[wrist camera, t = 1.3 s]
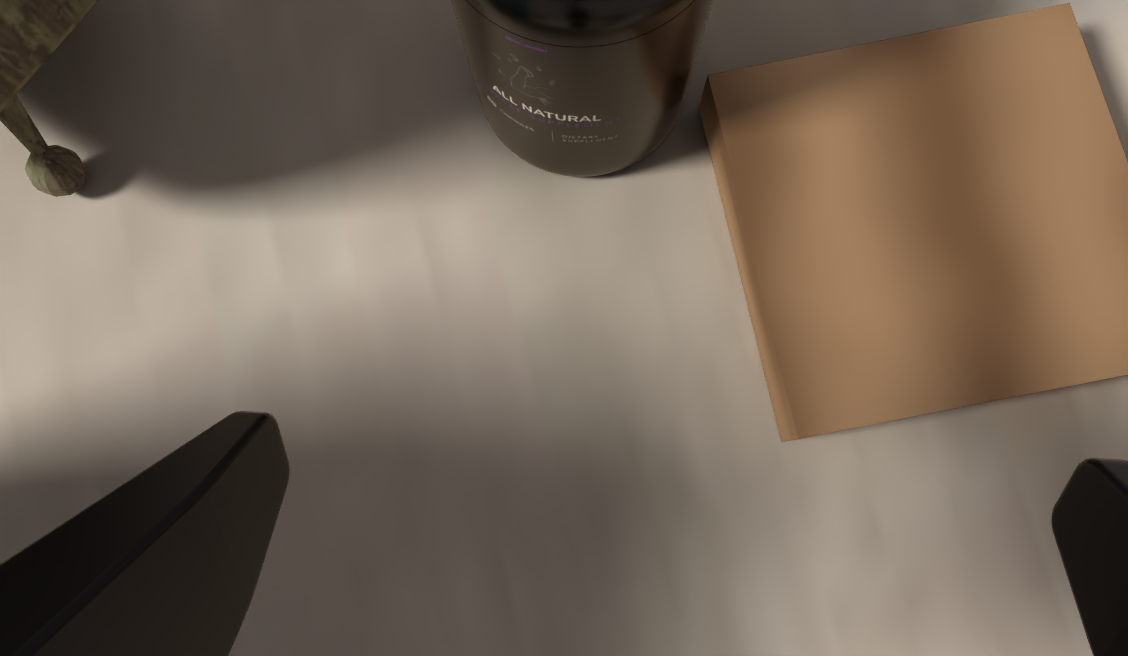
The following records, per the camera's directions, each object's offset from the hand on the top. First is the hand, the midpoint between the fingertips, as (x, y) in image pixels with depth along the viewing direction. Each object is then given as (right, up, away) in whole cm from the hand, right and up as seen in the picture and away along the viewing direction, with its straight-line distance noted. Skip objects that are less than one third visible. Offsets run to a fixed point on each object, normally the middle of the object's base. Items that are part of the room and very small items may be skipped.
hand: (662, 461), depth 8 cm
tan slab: (+10, +4, +14) cm, 18 cm away
